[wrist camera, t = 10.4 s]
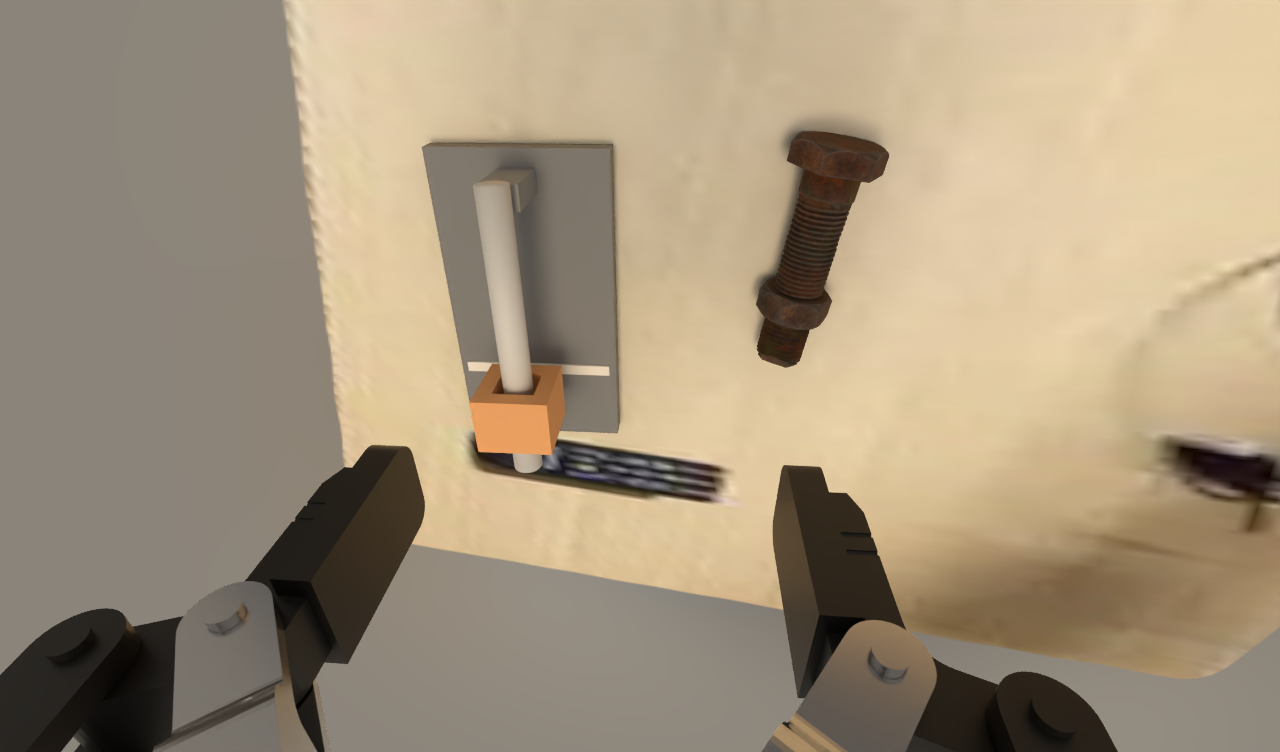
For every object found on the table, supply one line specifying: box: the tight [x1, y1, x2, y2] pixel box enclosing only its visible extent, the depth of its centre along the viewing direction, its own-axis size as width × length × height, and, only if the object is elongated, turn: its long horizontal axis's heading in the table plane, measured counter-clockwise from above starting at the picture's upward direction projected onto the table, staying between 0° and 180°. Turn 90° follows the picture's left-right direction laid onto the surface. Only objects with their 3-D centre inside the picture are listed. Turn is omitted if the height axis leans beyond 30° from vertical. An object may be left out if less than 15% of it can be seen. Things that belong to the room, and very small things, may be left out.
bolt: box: [756, 132, 889, 367], centre depth 38 cm, size 6×5×15 cm
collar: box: [469, 363, 565, 455], centre depth 40 cm, size 4×5×5 cm
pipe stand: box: [422, 143, 620, 473], centre depth 40 cm, size 22×12×8 cm, turn 0°
